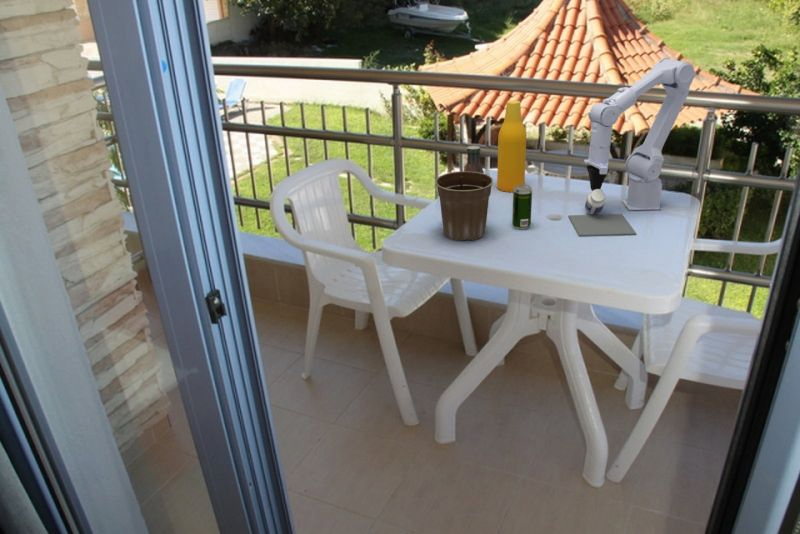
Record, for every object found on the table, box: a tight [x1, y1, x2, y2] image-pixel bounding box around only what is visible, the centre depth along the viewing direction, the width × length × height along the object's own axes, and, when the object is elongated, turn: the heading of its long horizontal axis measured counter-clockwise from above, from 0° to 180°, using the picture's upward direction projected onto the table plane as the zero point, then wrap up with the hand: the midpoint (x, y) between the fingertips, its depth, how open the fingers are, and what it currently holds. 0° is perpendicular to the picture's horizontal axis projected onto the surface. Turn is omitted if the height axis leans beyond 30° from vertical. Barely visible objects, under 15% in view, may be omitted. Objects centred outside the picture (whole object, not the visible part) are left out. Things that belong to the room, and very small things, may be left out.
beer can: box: [511, 184, 533, 230], centre depth 199 cm, size 5×5×12 cm
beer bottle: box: [496, 100, 527, 193], centre depth 226 cm, size 9×9×29 cm
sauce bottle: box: [463, 145, 485, 174], centre depth 212 cm, size 6×6×20 cm
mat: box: [568, 213, 637, 237], centre depth 200 cm, size 16×15×1 cm
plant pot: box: [434, 170, 494, 242], centre depth 195 cm, size 16×16×16 cm
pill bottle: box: [584, 188, 607, 215], centre depth 204 cm, size 5×5×9 cm
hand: (595, 190), depth 204 cm, fingers closed
